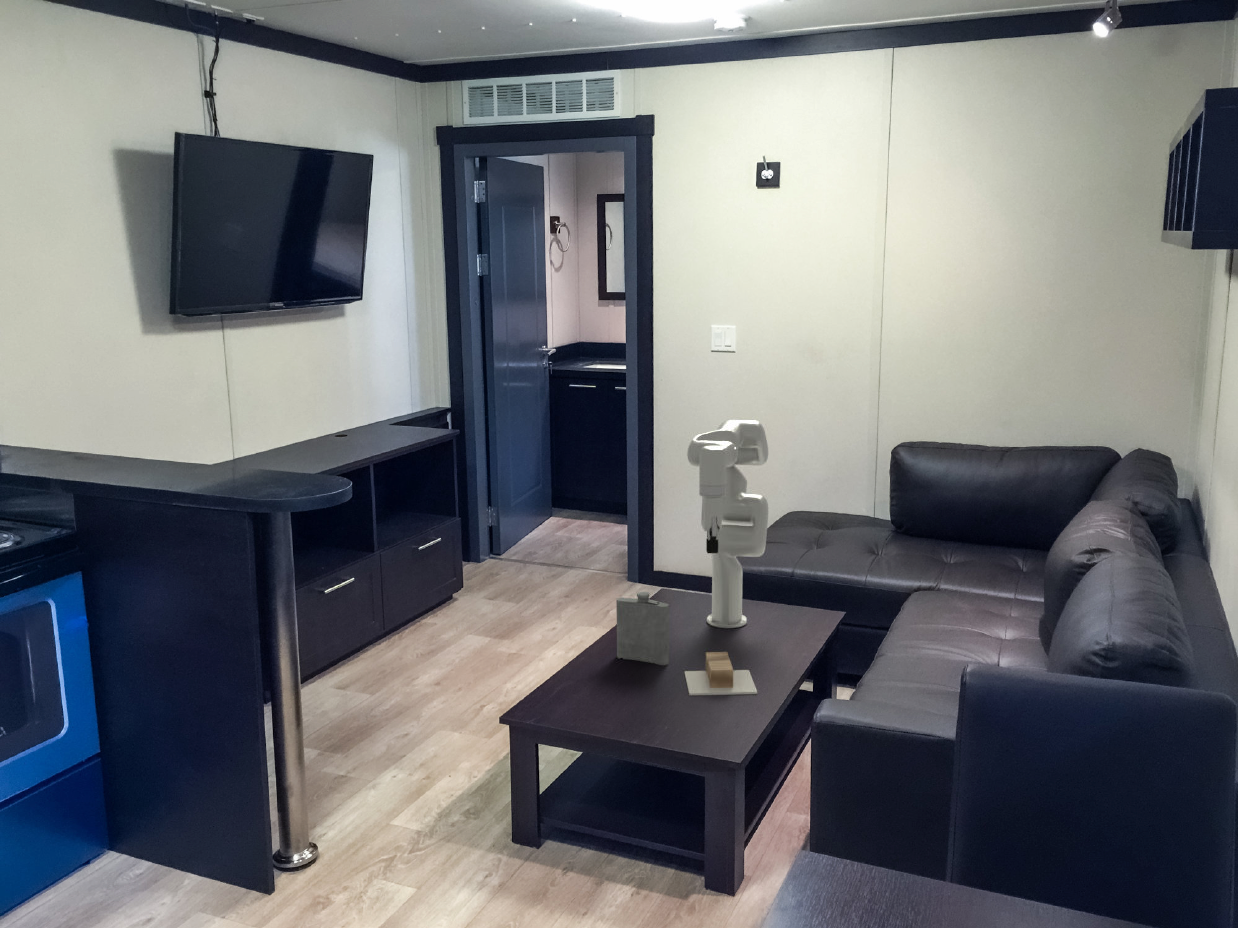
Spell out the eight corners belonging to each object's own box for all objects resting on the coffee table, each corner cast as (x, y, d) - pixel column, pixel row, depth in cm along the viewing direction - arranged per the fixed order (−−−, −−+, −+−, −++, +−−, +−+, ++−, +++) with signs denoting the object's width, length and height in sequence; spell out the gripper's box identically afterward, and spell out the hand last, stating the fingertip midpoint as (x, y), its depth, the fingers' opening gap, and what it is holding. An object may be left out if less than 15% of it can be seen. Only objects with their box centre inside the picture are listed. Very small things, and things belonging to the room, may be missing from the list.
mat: (684, 673, 294) (684, 671, 294) (748, 671, 295) (748, 669, 295) (689, 695, 280) (689, 693, 279) (757, 693, 280) (757, 691, 280)
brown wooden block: (705, 652, 294) (710, 670, 282) (727, 651, 295) (733, 669, 282) (705, 669, 295) (710, 687, 283) (726, 668, 296) (733, 687, 283)
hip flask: (615, 657, 306) (614, 591, 302) (621, 652, 310) (620, 587, 306) (666, 665, 300) (666, 598, 296) (671, 660, 303) (671, 594, 299)
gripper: (696, 484, 305) (696, 545, 308) (702, 495, 290) (701, 560, 294) (722, 483, 305) (722, 545, 309) (729, 495, 290) (728, 559, 294)
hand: (712, 552), depth 301 cm, fingers closed
